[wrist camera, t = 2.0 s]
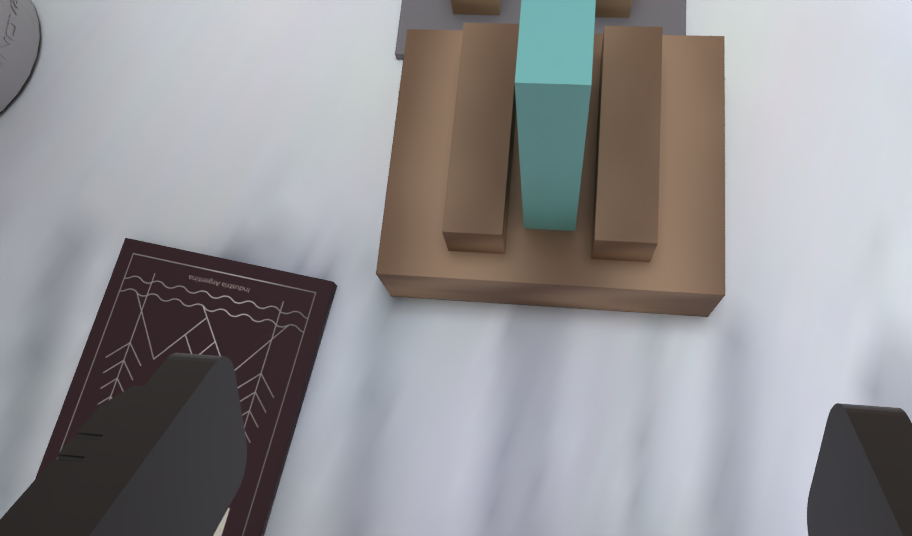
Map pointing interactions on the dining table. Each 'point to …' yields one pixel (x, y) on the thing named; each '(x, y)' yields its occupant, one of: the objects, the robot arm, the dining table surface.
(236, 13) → the dining table surface
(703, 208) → the brown wooden stand
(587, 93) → the teal rectangular pillar
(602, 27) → the mat
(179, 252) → the chocolate bar
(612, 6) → the rack
